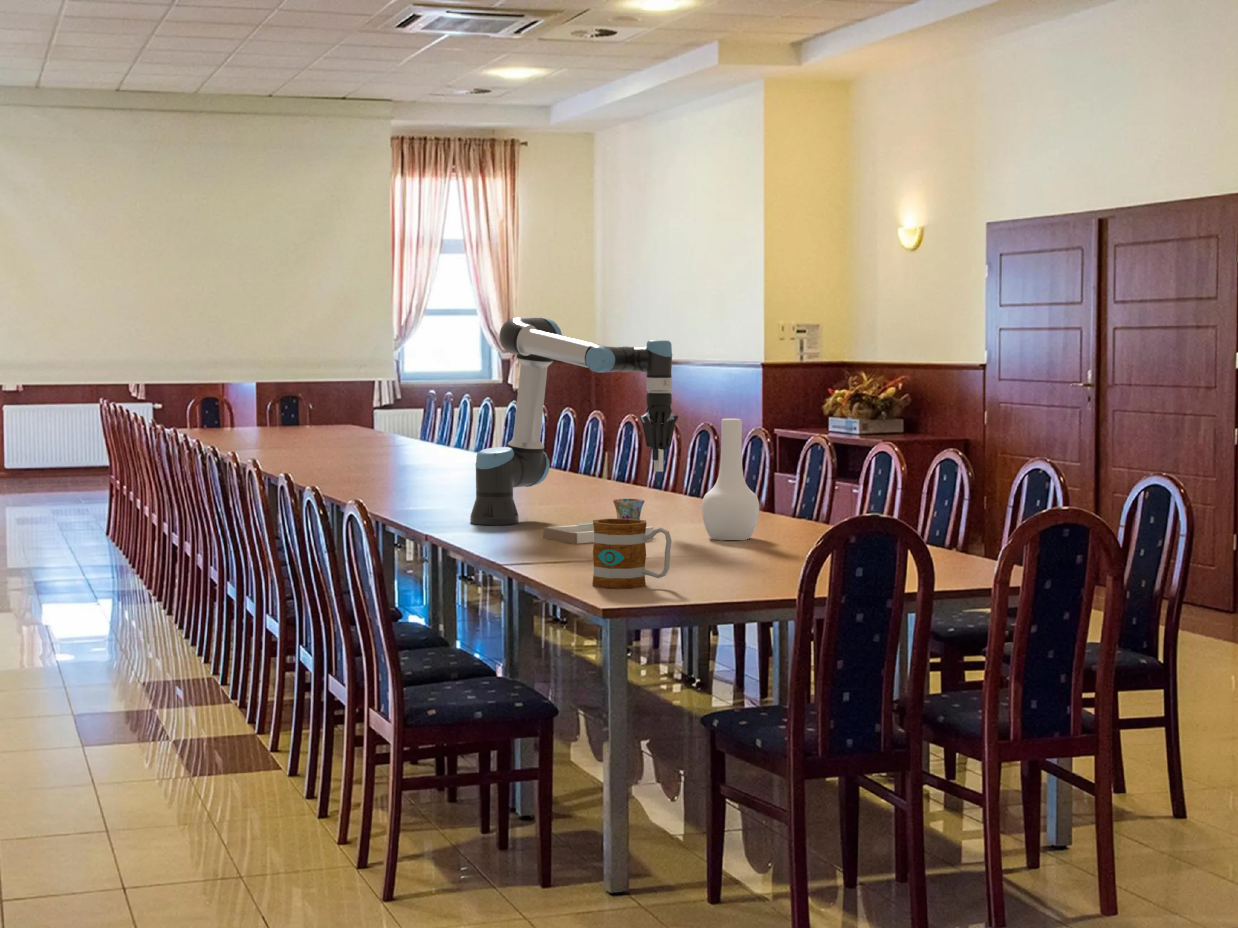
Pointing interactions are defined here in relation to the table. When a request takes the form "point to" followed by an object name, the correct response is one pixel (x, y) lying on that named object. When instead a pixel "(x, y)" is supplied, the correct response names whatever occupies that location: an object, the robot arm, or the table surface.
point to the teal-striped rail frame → (575, 533)
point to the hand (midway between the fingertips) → (658, 471)
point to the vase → (730, 491)
